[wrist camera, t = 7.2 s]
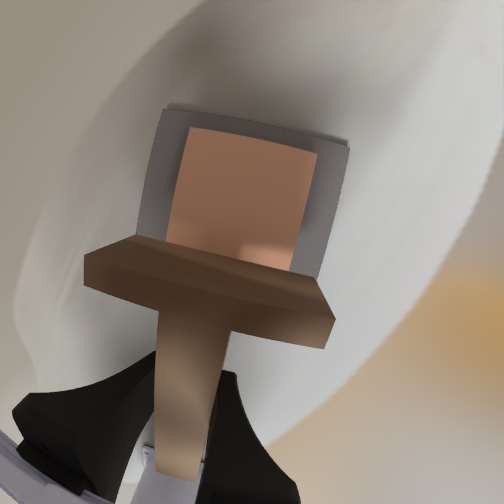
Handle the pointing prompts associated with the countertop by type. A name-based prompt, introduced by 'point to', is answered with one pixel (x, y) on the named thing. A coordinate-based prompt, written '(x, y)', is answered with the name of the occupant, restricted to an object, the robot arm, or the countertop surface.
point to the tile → (240, 197)
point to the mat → (179, 122)
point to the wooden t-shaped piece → (202, 327)
